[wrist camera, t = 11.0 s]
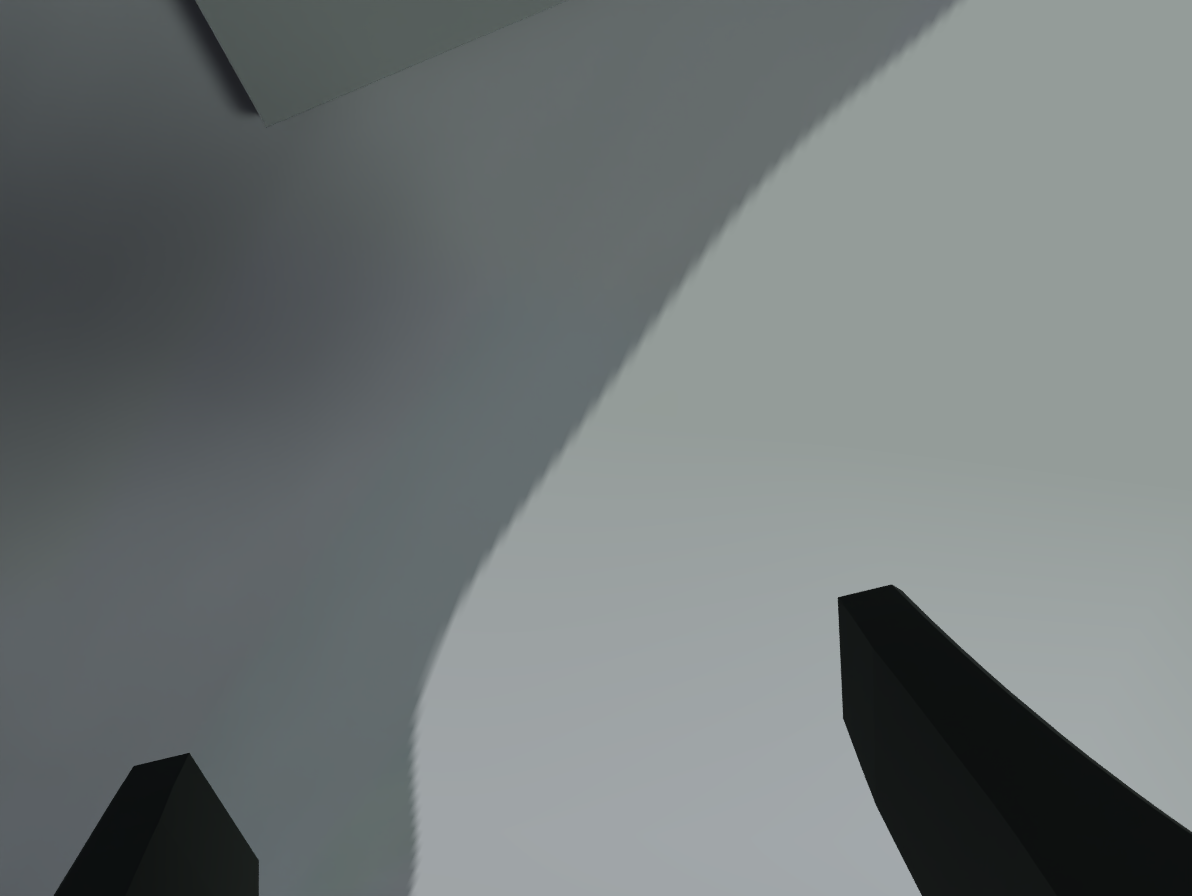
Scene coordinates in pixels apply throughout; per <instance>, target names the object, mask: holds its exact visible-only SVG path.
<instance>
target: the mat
mask: <svg viewBox="0 0 1192 896" xmlns="http://www.w3.org/2000/svg"><path fill="white" fill-rule="evenodd" d="M195 1H196V3H197V5H198V6H199V8H200V10H201V12H202V14H203V15H204V17H205V19H206V21H207V22H208V24H209V26H210V28H211V30H212V31H213V33H214V35H215V37H216V39H217V40H218V42H219V44H220V46H221V47H222V49H223V51H224V53H225V55H226V56H227V58H228V60H229V62H230V64H231V65H232V67H233V69H234V71H235V72H236V74H237V76H238V78H239V80H240V81H241V83H242V85H243V87H244V88H245V90H246V92H247V94H248V96H249V97H250V99H251V101H252V103H253V105H254V106H255V108H256V110H257V112H258V113H259V115H260V117H261V119H262V121H263V122H264V124H265V126H266V127H269V126H271V125H274V124H276V123H278V122H281V121H283V120H285V119H288V118H290V117H293V116H295V115H297V114H300V113H302V112H304V111H307V110H309V109H312V108H314V107H316V106H319V105H321V104H323V103H326V102H328V101H330V100H333V99H335V98H338V97H340V96H342V95H345V94H347V93H349V92H352V91H354V90H357V89H359V88H361V87H364V86H366V85H368V84H371V83H373V82H376V81H378V80H380V79H383V78H385V77H387V76H390V75H392V74H395V73H397V72H399V71H402V70H404V69H406V68H409V67H411V66H413V65H416V64H418V63H421V62H423V61H425V60H428V59H430V58H432V57H435V56H437V55H440V54H442V53H444V52H447V51H449V50H451V49H454V48H456V47H459V46H461V45H463V44H466V43H468V42H470V41H473V40H475V39H478V38H480V37H482V36H485V35H487V34H489V33H492V32H494V31H496V30H499V29H501V28H504V27H506V26H508V25H511V24H513V23H515V22H518V21H520V20H523V19H525V18H527V17H530V16H532V15H534V14H537V13H539V12H542V11H544V10H546V9H549V8H551V7H553V6H556V5H558V4H561V3H563V2H565V1H568V0H195Z"/></svg>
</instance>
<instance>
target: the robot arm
mask: <svg viewBox="0 0 1192 896" xmlns="http://www.w3.org/2000/svg"><path fill="white" fill-rule="evenodd" d="M838 613H839V633H840V634H839V635H840V657H841V677H842V678H841V679H842V701H843V719H844V722H845V724H846V727H847V730H848V732H849V735H850V738H851V740H852V743H853V746H854V749H855V751H856V754H857V757H858V759H859V762H860V765H861V767H862V770H863V773H864V775H865V778H866V780H867V783H868V785H869V788H870V791H871V793H872V796H873V798H874V801H875V803H876V806H877V808H878V810H879V812H880V814H881V816H882V818H883V820H884V822H885V823H886V826H887V828H888V830H889V832H890V834H891V835H892V838H893V840H894V842H895V844H896V845H897V848H898V850H899V851H900V853H901V855H902V857H903V859H904V861H905V863H906V865H907V867H908V869H909V871H910V873H911V875H912V877H913V879H914V881H915V883H916V885H917V887H918V889H919V891H920V893H921V895H922V896H1192V832H1191V831H1190V830H1188V829H1187V828H1185V827H1184V826H1182V825H1181V824H1179V823H1178V822H1177V821H1175V820H1174V819H1172V818H1171V817H1169V816H1168V815H1167V814H1165V813H1164V812H1163V811H1161V810H1159V809H1158V808H1157V807H1155V806H1154V805H1153V804H1151V803H1150V802H1149V801H1147V800H1146V799H1145V798H1143V797H1142V796H1140V795H1139V794H1138V793H1136V792H1135V791H1134V790H1132V789H1131V788H1130V787H1128V786H1127V785H1126V784H1124V783H1123V782H1122V781H1121V780H1119V779H1118V778H1117V777H1115V776H1114V775H1113V774H1111V773H1110V772H1109V771H1107V770H1106V769H1105V768H1103V767H1102V766H1101V765H1099V764H1098V763H1097V762H1096V761H1094V760H1093V759H1092V758H1090V757H1089V756H1088V755H1087V754H1085V753H1084V752H1083V751H1082V750H1080V749H1079V748H1078V747H1077V746H1075V745H1074V744H1073V743H1071V742H1070V741H1069V740H1068V739H1066V738H1065V737H1064V736H1063V735H1061V734H1060V733H1059V732H1058V731H1057V730H1055V729H1054V728H1053V727H1052V726H1051V725H1049V724H1048V723H1047V722H1046V721H1045V720H1043V719H1042V718H1041V717H1040V716H1039V715H1038V714H1036V713H1035V712H1034V711H1033V710H1032V709H1030V708H1029V707H1028V706H1027V705H1026V704H1024V703H1023V702H1022V701H1021V700H1020V699H1018V698H1017V697H1016V696H1015V695H1013V694H1012V693H1011V692H1010V691H1009V690H1008V689H1006V688H1005V687H1004V686H1003V685H1002V684H1001V683H1000V682H999V681H998V680H996V679H995V678H994V677H993V676H992V675H991V674H990V673H988V672H987V671H986V670H985V669H984V668H983V667H982V666H981V665H979V664H978V663H977V662H976V661H975V660H974V659H973V658H972V657H971V656H970V655H969V654H967V653H966V652H965V651H964V650H963V649H962V648H961V647H960V646H959V645H958V644H957V643H955V642H954V641H953V640H952V639H951V638H950V637H949V636H948V635H947V634H946V633H945V632H944V631H943V630H942V629H941V628H940V627H938V626H937V625H936V624H935V623H934V622H933V621H932V620H931V619H930V618H929V617H928V616H927V615H926V614H925V613H924V612H923V611H922V610H921V609H920V608H919V607H918V606H917V605H916V604H915V603H914V602H913V601H912V600H911V599H910V598H909V597H908V596H907V595H906V594H905V593H904V592H903V591H901V590H900V589H898V588H897V587H895V586H893V585H888V586H883V587H880V588H876V589H871V590H867V591H863V592H859V593H854V594H850V595H846V596H842V597H838ZM54 896H259V860H258V859H257V857H256V856H255V854H254V853H253V851H252V849H251V848H250V846H249V845H248V843H247V842H246V840H245V839H244V837H243V835H242V834H241V832H240V831H239V829H238V828H237V826H236V825H235V823H234V821H233V820H232V818H231V817H230V815H229V814H228V812H227V811H226V809H225V808H224V806H223V804H222V803H221V801H220V800H219V798H218V797H217V795H216V794H215V792H214V790H213V789H212V787H211V786H210V784H209V783H208V781H207V780H206V778H205V776H204V775H203V773H202V772H201V770H200V769H199V767H198V766H197V764H196V763H195V761H194V759H193V758H192V756H191V755H190V753H187V754H183V755H178V756H174V757H170V758H166V759H162V760H158V761H153V762H149V763H145V764H141V765H137V766H134V767H133V768H132V770H131V771H130V773H129V774H128V776H127V778H126V779H125V781H124V782H123V784H122V785H121V787H120V789H119V790H118V792H117V793H116V795H115V796H114V798H113V800H112V801H111V803H110V804H109V806H108V808H107V809H106V811H105V813H104V814H103V816H102V817H101V819H100V821H99V822H98V824H97V826H96V827H95V829H94V831H93V832H92V834H91V835H90V837H89V839H88V840H87V842H86V844H85V845H84V847H83V849H82V850H81V852H80V853H79V855H78V857H77V858H76V860H75V862H74V863H73V865H72V867H71V868H70V870H69V871H68V873H67V875H66V876H65V878H64V880H63V881H62V883H61V884H60V886H59V888H58V889H57V891H56V893H55V894H54Z"/></svg>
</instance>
